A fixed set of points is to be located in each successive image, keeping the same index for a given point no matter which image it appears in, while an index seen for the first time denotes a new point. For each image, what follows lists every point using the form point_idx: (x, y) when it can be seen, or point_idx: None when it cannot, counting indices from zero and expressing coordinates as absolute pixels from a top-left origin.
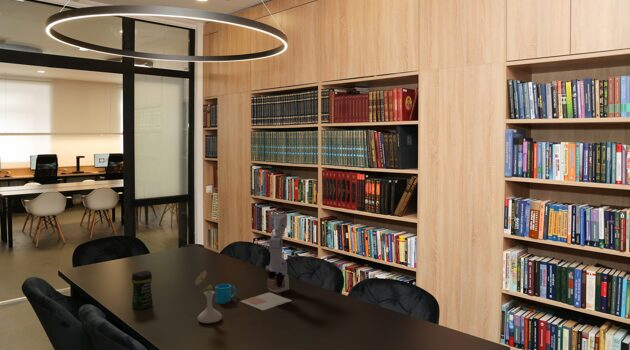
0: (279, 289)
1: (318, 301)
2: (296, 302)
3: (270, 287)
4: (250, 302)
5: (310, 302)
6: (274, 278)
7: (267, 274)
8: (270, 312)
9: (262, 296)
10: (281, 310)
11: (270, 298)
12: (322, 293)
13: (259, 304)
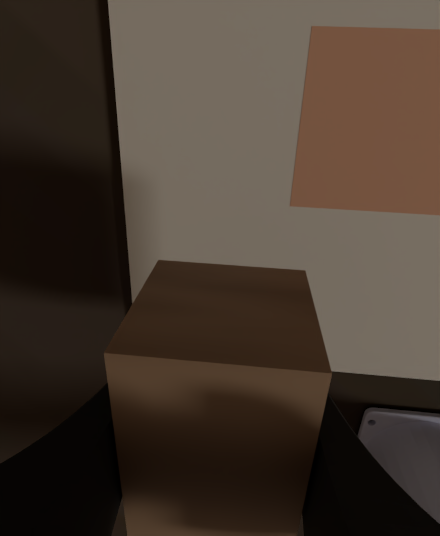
0: (380, 449)
1: (22, 436)
2: (101, 352)
3: (224, 280)
4: (436, 41)
5: (38, 401)
6: (243, 475)
7: (438, 524)
8: (36, 11)
9: (432, 274)
10: (20, 142)
11: (321, 282)
12: (123, 528)
13: (289, 75)
